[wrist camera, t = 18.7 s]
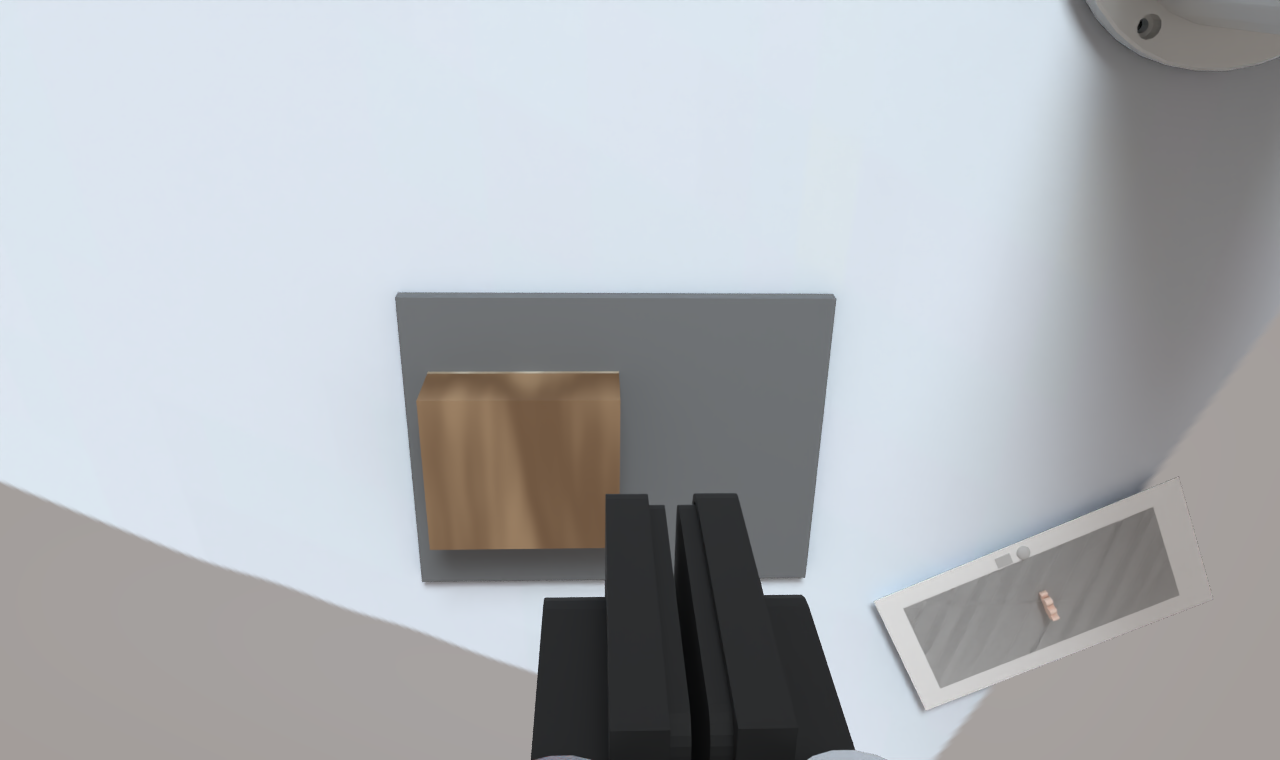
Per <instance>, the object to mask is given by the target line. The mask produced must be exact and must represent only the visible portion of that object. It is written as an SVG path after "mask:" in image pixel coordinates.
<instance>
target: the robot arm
mask: <svg viewBox="0 0 1280 760" xmlns="http://www.w3.org/2000/svg"><path fill="white" fill-rule="evenodd" d="M1086 2H1087V4H1088V6H1089V7H1090V9H1091V11H1092V13H1093V14H1094V16H1095V18H1096V19H1097V20H1098V21H1099V22H1100V23H1101V24H1102V25H1103V27H1104V28H1105V29H1106V30H1107V31H1108V32H1109V33H1110V34H1111V35H1112V36H1113V37H1114V38H1115V39H1116V40H1117V41H1118V42H1120V43H1121V44H1123V45H1125V46H1126V47H1128V48H1129V49H1131V50H1132V51H1134V52H1135V53H1137V54H1138V55H1140V56H1142V57H1145V58H1148V59H1151V60H1153V61H1156V62H1159V63H1162V64H1165V65H1167V66H1173V67H1179V68H1185V69H1189V70H1194V71H1228V70H1234V69H1239V68H1245V67H1250V66H1256V65H1259V64H1262V63H1265V62H1267V61H1270V60H1273V59H1275V58H1278V57H1280V0H1086ZM1140 20H1142V26H1141V29H1140V30H1138V31H1137V26H1138V24H1139V22H1140ZM531 760H887V759H884V758H882V757H880V756H878V755H874V754H870V753H865V752H861V751H857V750H855V748H854V745H853V742H852V739H851V736H850V733H849V730H848V726H847V723H846V720H845V717H844V714H843V711H842V708H841V705H840V702H839V699H838V696H837V692H836V689H835V686H834V683H833V680H832V677H831V674H830V671H829V668H828V665H827V662H826V658H825V655H824V652H823V649H822V646H821V643H820V640H819V637H818V634H817V631H816V628H815V624H814V621H813V618H812V615H811V612H810V609H809V606H808V604H807V601H806V599H805V597H803V596H802V595H764V594H763V590H762V586H761V582H760V579H759V575H758V571H757V567H756V563H755V559H754V555H753V552H752V548H751V544H750V540H749V536H748V532H747V528H746V525H745V521H744V517H743V513H742V509H741V505H740V502H739V498H738V495H737V494H736V493H694V495H693V500H692V505H677V513H676V535H675V560H674V576H673V567H672V559H671V551H670V543H669V535H668V527H667V519H666V511H665V505H649V500H648V494H605V597H568V598H545V599H544V605H543V616H542V628H541V640H540V653H539V665H538V678H537V691H536V703H535V716H534V728H533V741H532V753H531Z"/></svg>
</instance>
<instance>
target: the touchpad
mask: <svg viewBox="0 0 1280 760" xmlns="http://www.w3.org/2000/svg"><path fill="white" fill-rule="evenodd" d="M1210 600H1213V596H1212V593H1211V589H1210V585H1209V582H1208V579H1207V575H1206V571H1205V568H1204V564H1203V561H1202V557H1201V554H1200V550H1199V546H1198V543H1197V539H1196V536H1195V532H1194V529H1193V525H1192V522H1191V518H1190V514H1189V511H1188V508H1187V504H1186V501H1185V497H1184V493H1183V490H1182V486H1181V482H1180V479H1179V477H1176V478H1174V479H1171V480H1169V481H1166V482H1164V483H1161V484H1159V485H1157V486H1154V487H1152V488H1149V489H1147V490H1144V491H1142V492H1139V493H1137V494H1135V495H1132V496H1130V497H1127V498H1125V499H1122V500H1120V501H1117V502H1115V503H1113V504H1110V505H1108V506H1105V507H1103V508H1100V509H1098V510H1095V511H1093V512H1091V513H1088V514H1086V515H1083V516H1081V517H1078V518H1076V519H1073V520H1071V521H1069V522H1066V523H1064V524H1061V525H1059V526H1056V527H1054V528H1051V529H1049V530H1047V531H1044V532H1042V533H1039V534H1037V535H1034V536H1032V537H1029V538H1027V539H1025V540H1022V541H1020V542H1017V543H1015V544H1012V545H1010V546H1007V547H1005V548H1003V549H1000V550H998V551H995V552H993V553H990V554H988V555H985V556H983V557H981V558H978V559H976V560H973V561H971V562H968V563H966V564H963V565H961V566H959V567H956V568H954V569H951V570H949V571H946V572H944V573H941V574H939V575H937V576H934V577H932V578H929V579H927V580H924V581H922V582H919V583H917V584H915V585H912V586H910V587H907V588H905V589H902V590H900V591H897V592H895V593H893V594H890V595H888V596H885V597H883V598H880V599H878V600H875V601H874V603H875V605H876V607H877V609H878V611H879V614H880V616H881V618H882V620H883V622H884V624H885V626H886V628H887V630H888V632H889V634H890V637H891V639H892V641H893V643H894V645H895V647H896V649H897V651H898V653H899V655H900V657H901V660H902V662H903V664H904V666H905V668H906V670H907V672H908V674H909V676H910V678H911V680H912V683H913V685H914V687H915V689H916V691H917V693H918V695H919V697H920V699H921V701H922V703H923V705H924V708H925V710H929V709H932V708H934V707H937V706H939V705H942V704H945V703H947V702H950V701H952V700H955V699H957V698H960V697H963V696H965V695H968V694H970V693H973V692H976V691H978V690H981V689H983V688H986V687H988V686H991V685H994V684H996V683H999V682H1001V681H1004V680H1006V679H1009V678H1012V677H1014V676H1017V675H1019V674H1022V673H1025V672H1027V671H1030V670H1032V669H1035V668H1037V667H1040V666H1042V665H1045V664H1048V663H1050V662H1053V661H1056V660H1058V659H1061V658H1063V657H1066V656H1068V655H1071V654H1074V653H1076V652H1079V651H1081V650H1084V649H1087V648H1089V647H1091V646H1094V645H1096V644H1099V643H1102V642H1104V641H1107V640H1109V639H1112V638H1115V637H1118V636H1120V635H1122V634H1125V633H1128V632H1130V631H1133V630H1136V629H1138V628H1141V627H1143V626H1146V625H1148V624H1151V623H1154V622H1156V621H1159V620H1161V619H1164V618H1167V617H1169V616H1172V615H1174V614H1177V613H1179V612H1182V611H1185V610H1187V609H1190V608H1192V607H1195V606H1198V605H1200V604H1203V603H1205V602H1208V601H1210Z"/></svg>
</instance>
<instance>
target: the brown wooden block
mask: <svg viewBox="0 0 1280 760" xmlns="http://www.w3.org/2000/svg"><path fill="white" fill-rule="evenodd" d="M416 403H417V414H418V425H419V436H420V447H421V458H422V469H423V480H424V491H425V502H426V513H427V524H428V535H429V545H430V550H469V549H563V548H605V494H620V382H619V371H535V372H428V373H427V375H426V378H425V380H424V383H423V385H422V388H421V390H420V393H419V395H418V398H417V400H416Z"/></svg>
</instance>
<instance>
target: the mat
mask: <svg viewBox="0 0 1280 760" xmlns="http://www.w3.org/2000/svg"><path fill="white" fill-rule="evenodd" d="M395 301H396V311H397V322H398V332H399V343H400V353H401V364H402V374H403V385H404V395H405V406H406V416H407V427H408V437H409V448H410V458H411V469H412V479H413V490H414V500H415V511H416V521H417V532H418V542H419V553H420V563H421V574H422V582H447V581H540V580H605V548H563V549H469V550H430V545H429V535H428V524H427V513H426V502H425V491H424V480H423V469H422V458H421V447H420V436H419V425H418V414H417V403H416V400H417V398H418V395H419V393H420V390H421V388H422V385H423V383H424V380H425V378H426V375H427V373H428V372H535V371H619V382H620V494H648V500H649V505H665V511H666V519H667V527H668V535H669V543H670V551H671V559H672V567H673V576H674V560H675V535H676V513H677V505H692V500H693V495H694V493H736V494H737V495H738V498H739V502H740V505H741V509H742V513H743V517H744V521H745V525H746V528H747V532H748V536H749V540H750V544H751V548H752V552H753V555H754V559H755V563H756V567H757V571H758V575H759V578H805V575H806V566H807V557H808V548H809V539H810V530H811V521H812V512H813V503H814V494H815V485H816V476H817V467H818V458H819V449H820V440H821V431H822V422H823V413H824V404H825V395H826V386H827V377H828V368H829V359H830V350H831V341H832V332H833V323H834V314H835V305H836V298H835V296H834V295H833V294H685V293H398V294H397V295H396V297H395Z"/></svg>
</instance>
